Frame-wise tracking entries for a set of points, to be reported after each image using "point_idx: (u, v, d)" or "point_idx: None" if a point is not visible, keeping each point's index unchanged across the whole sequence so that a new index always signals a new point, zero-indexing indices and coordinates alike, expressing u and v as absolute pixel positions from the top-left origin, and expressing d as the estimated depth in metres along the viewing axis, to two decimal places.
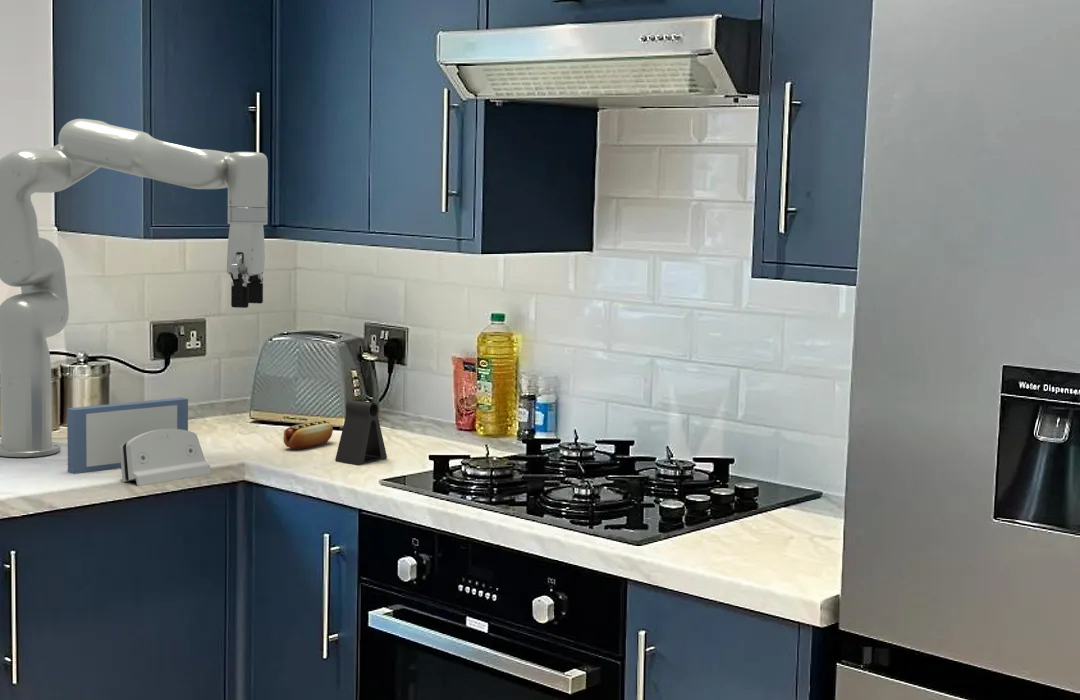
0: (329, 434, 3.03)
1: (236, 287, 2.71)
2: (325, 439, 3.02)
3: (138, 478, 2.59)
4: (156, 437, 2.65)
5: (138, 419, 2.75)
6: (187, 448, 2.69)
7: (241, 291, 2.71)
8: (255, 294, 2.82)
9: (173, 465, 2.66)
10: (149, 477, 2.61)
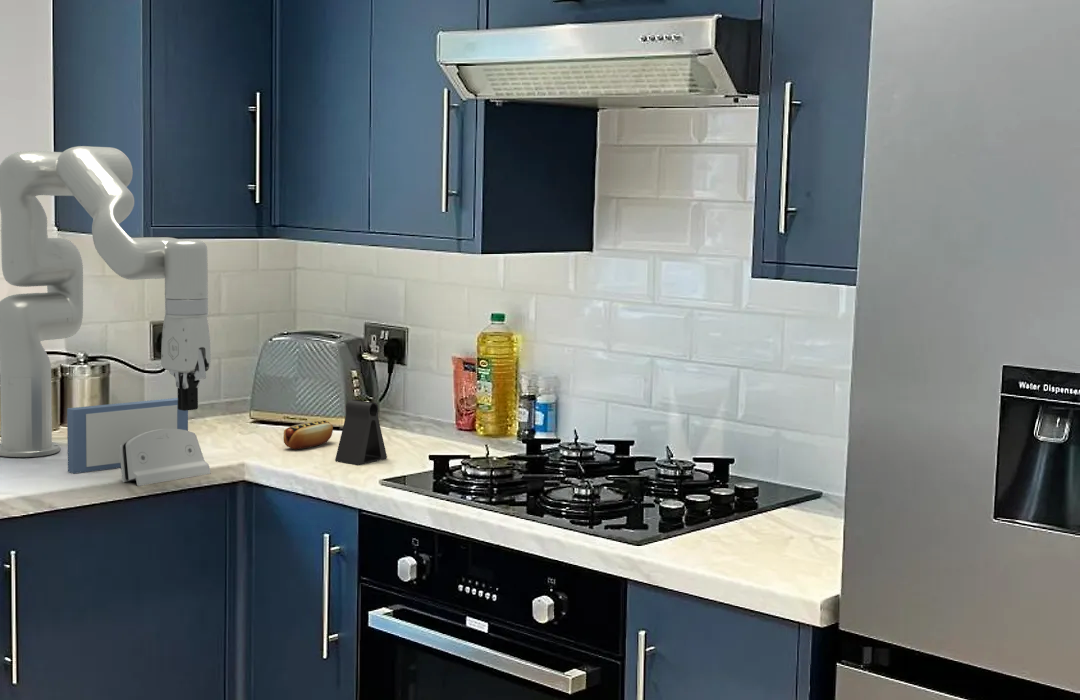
0: (329, 434, 3.03)
1: (190, 389, 2.58)
2: (325, 439, 3.02)
3: (138, 478, 2.59)
4: (156, 436, 2.65)
5: (138, 419, 2.75)
6: (186, 447, 2.70)
7: (194, 393, 2.59)
8: None
9: (172, 465, 2.66)
10: (149, 477, 2.61)
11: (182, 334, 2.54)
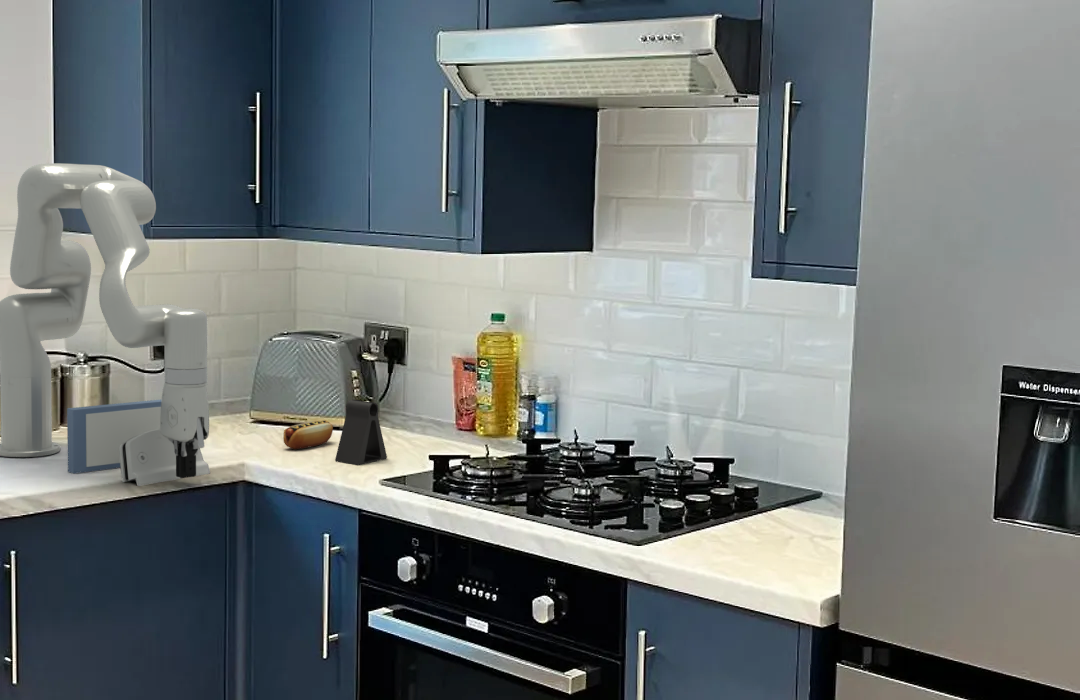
0: (329, 434, 3.03)
1: (188, 457, 2.60)
2: (325, 439, 3.02)
3: (138, 478, 2.59)
4: (155, 436, 2.65)
5: (138, 419, 2.75)
6: None
7: (193, 460, 2.60)
8: None
9: (172, 465, 2.66)
10: (149, 477, 2.61)
11: (181, 403, 2.56)
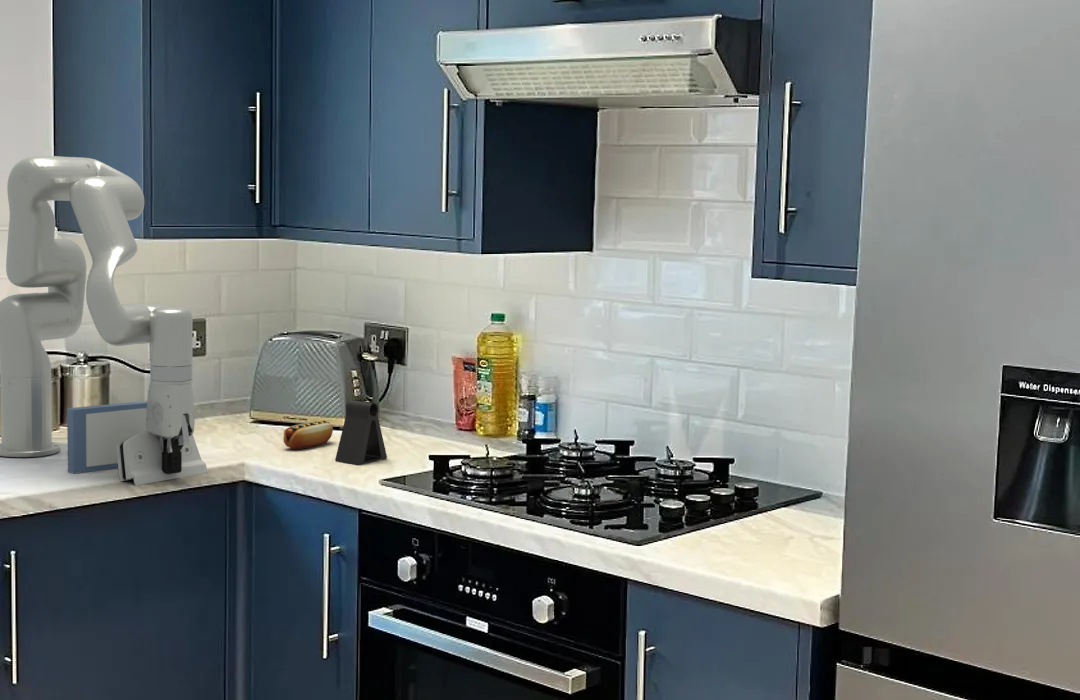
0: (329, 434, 3.03)
1: (173, 453, 2.63)
2: (325, 439, 3.02)
3: (136, 477, 2.59)
4: (153, 436, 2.66)
5: (138, 419, 2.75)
6: (183, 447, 2.70)
7: (178, 456, 2.64)
8: None
9: None
10: (146, 476, 2.61)
11: (166, 400, 2.59)
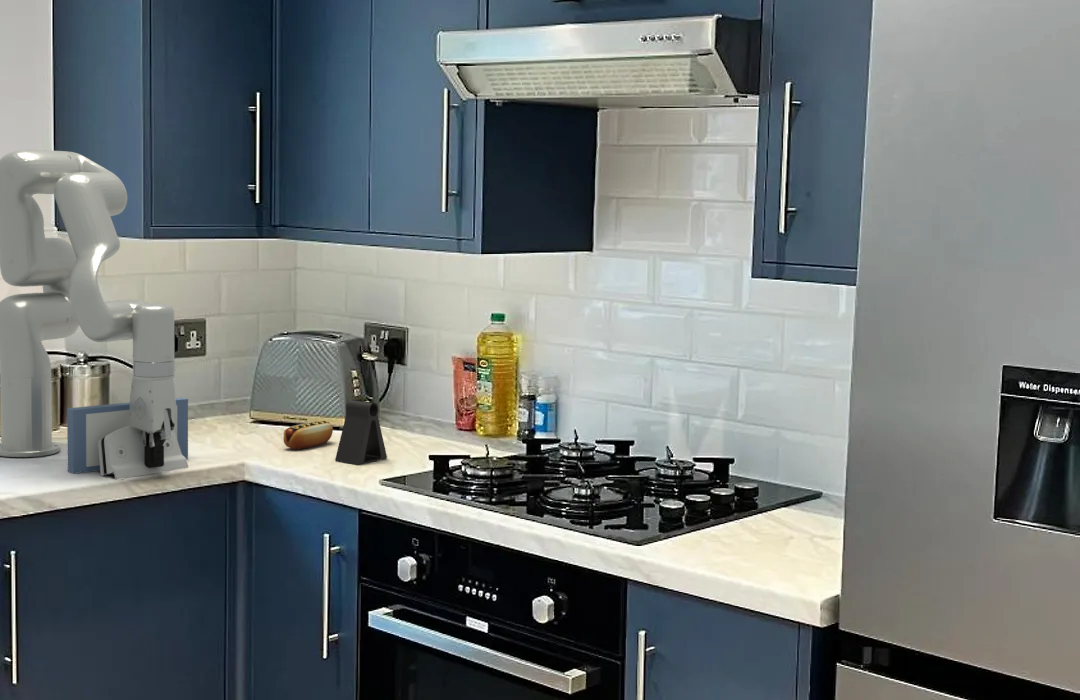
0: (329, 434, 3.03)
1: (156, 447, 2.68)
2: (325, 439, 3.02)
3: (116, 472, 2.64)
4: (134, 431, 2.70)
5: None
6: None
7: (161, 451, 2.68)
8: None
9: None
10: (127, 471, 2.65)
11: (149, 395, 2.64)
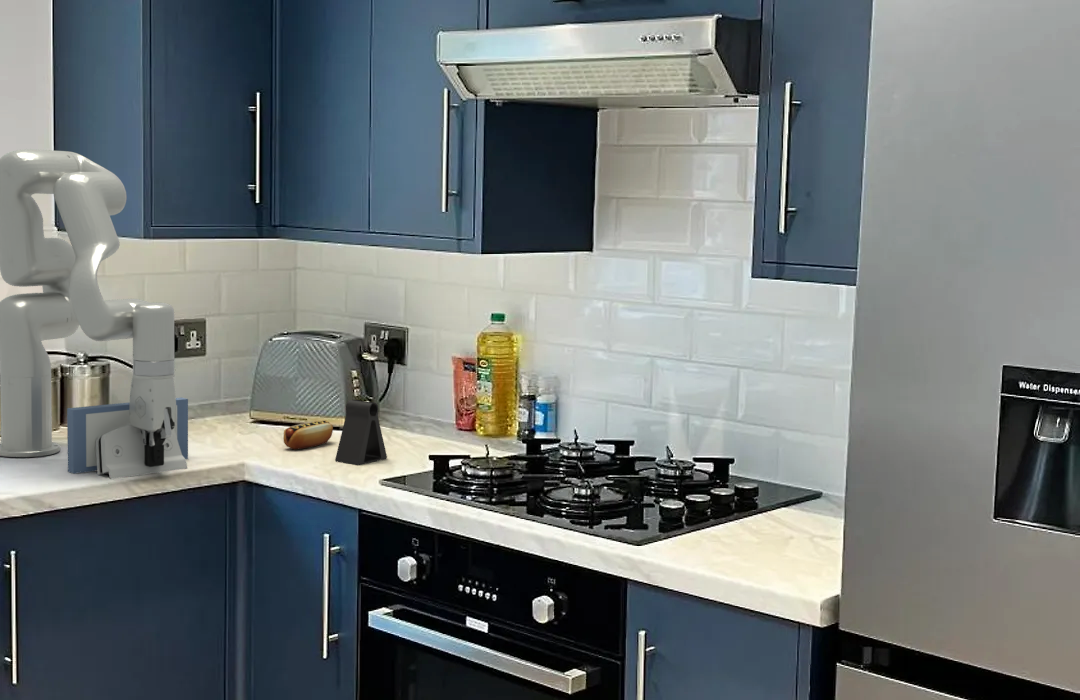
0: (329, 434, 3.03)
1: (156, 446, 2.68)
2: (325, 439, 3.02)
3: (111, 471, 2.64)
4: (132, 431, 2.70)
5: None
6: None
7: (161, 449, 2.69)
8: None
9: None
10: (122, 470, 2.66)
11: (149, 394, 2.64)
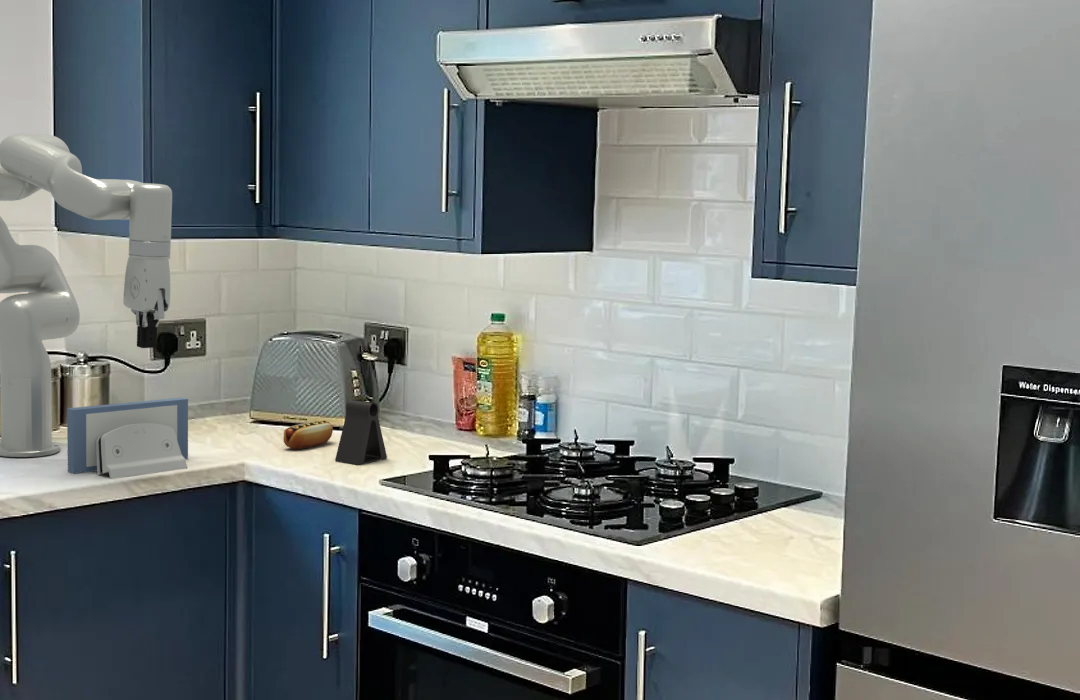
0: (329, 434, 3.03)
1: (149, 328, 2.68)
2: (325, 439, 3.02)
3: (111, 471, 2.64)
4: (132, 431, 2.70)
5: (138, 419, 2.75)
6: (163, 442, 2.74)
7: (153, 331, 2.69)
8: None
9: (148, 459, 2.71)
10: (122, 470, 2.66)
11: (143, 274, 2.64)
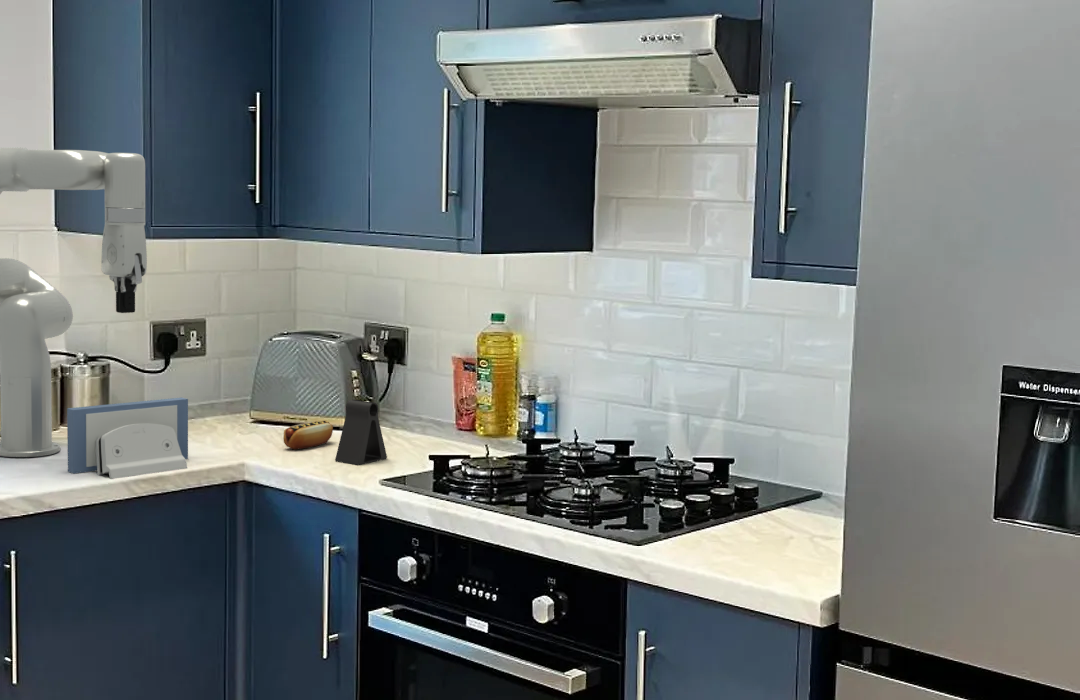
0: (329, 434, 3.03)
1: (127, 293, 2.76)
2: (325, 439, 3.02)
3: (111, 471, 2.64)
4: (132, 431, 2.70)
5: (138, 419, 2.75)
6: (163, 442, 2.74)
7: (132, 296, 2.77)
8: None
9: (148, 459, 2.71)
10: (122, 471, 2.66)
11: (120, 240, 2.72)
